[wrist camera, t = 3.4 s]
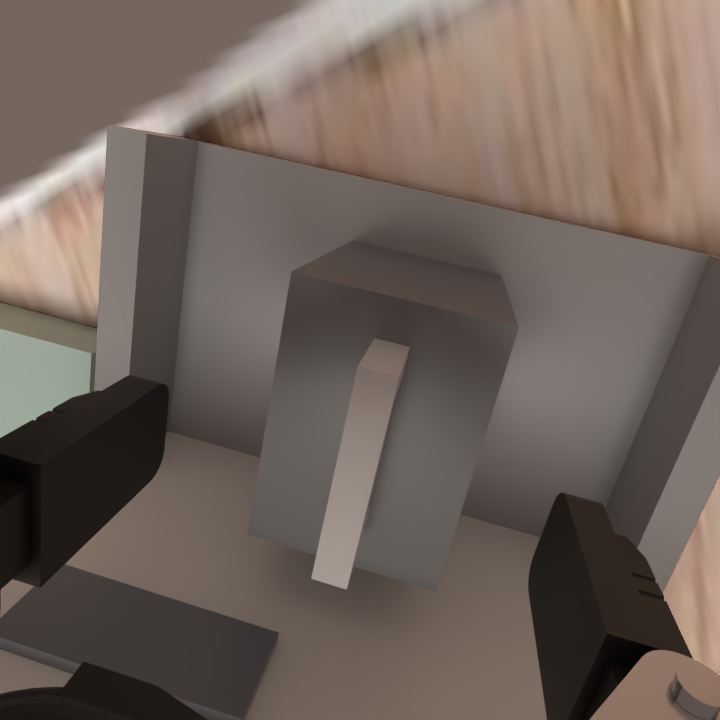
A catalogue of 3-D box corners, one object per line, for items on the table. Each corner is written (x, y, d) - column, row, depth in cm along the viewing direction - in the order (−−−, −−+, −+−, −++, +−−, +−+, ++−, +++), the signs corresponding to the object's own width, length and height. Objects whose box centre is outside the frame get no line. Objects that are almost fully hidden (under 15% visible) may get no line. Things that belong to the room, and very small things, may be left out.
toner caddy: (501, 275, 18) (528, 354, 10) (446, 461, 21) (430, 654, 12) (353, 240, 19) (259, 287, 10) (316, 425, 21) (214, 586, 13)
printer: (733, 259, 18) (1288, 423, 6) (548, 691, 24) (627, 1206, 12) (181, 136, 20) (-263, 66, 8) (142, 564, 26) (-140, 893, 14)
